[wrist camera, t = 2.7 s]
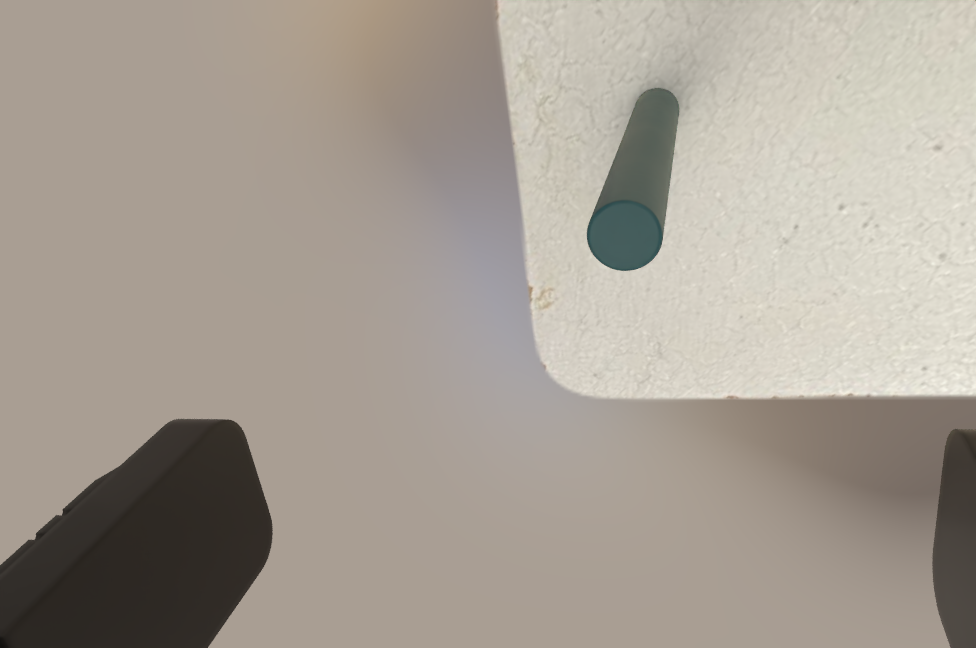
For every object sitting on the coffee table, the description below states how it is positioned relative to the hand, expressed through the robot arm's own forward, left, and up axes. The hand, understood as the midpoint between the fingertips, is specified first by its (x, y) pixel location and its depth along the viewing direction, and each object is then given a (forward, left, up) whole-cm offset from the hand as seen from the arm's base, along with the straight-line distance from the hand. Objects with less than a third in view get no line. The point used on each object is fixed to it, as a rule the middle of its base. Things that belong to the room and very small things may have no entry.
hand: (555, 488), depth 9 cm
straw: (0, 0, -23) cm, 23 cm away
